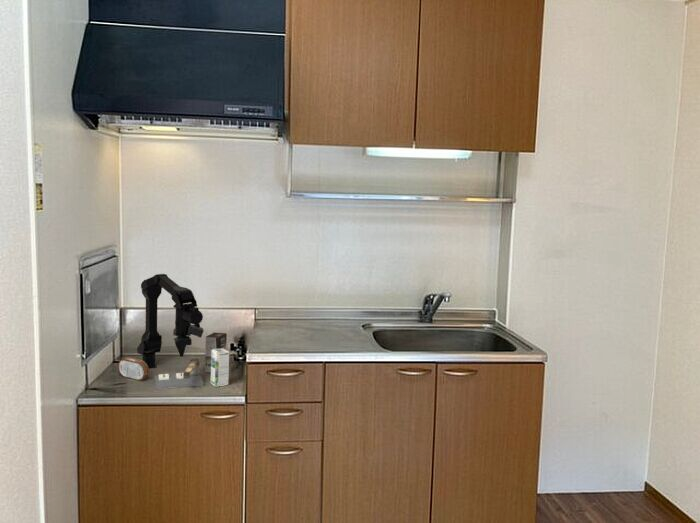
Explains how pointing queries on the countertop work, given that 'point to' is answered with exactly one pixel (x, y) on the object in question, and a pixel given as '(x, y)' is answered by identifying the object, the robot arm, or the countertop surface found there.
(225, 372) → the syrup box
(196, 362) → the bar
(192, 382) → the label board
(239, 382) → the countertop surface
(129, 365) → the tin
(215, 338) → the coffee box
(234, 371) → the countertop surface
